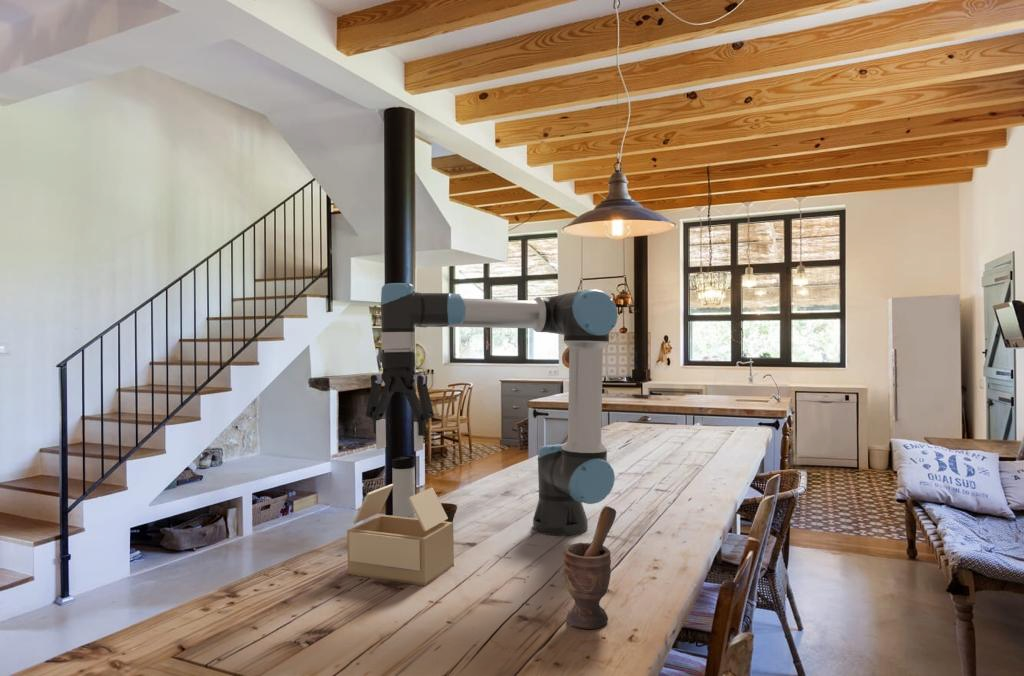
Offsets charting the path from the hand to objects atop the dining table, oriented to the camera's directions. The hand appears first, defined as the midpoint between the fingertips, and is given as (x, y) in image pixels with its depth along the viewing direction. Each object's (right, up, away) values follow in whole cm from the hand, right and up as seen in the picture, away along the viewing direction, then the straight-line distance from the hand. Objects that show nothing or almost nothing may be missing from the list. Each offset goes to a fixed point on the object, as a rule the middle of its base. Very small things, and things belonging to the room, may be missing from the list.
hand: (399, 449), depth 143 cm
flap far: (-8, -17, +3) cm, 19 cm away
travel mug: (-5, -28, +34) cm, 45 cm away
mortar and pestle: (+41, -27, -27) cm, 55 cm away
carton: (+1, -28, 0) cm, 28 cm away
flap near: (+9, -17, -4) cm, 19 cm away
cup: (+7, -28, +19) cm, 34 cm away
